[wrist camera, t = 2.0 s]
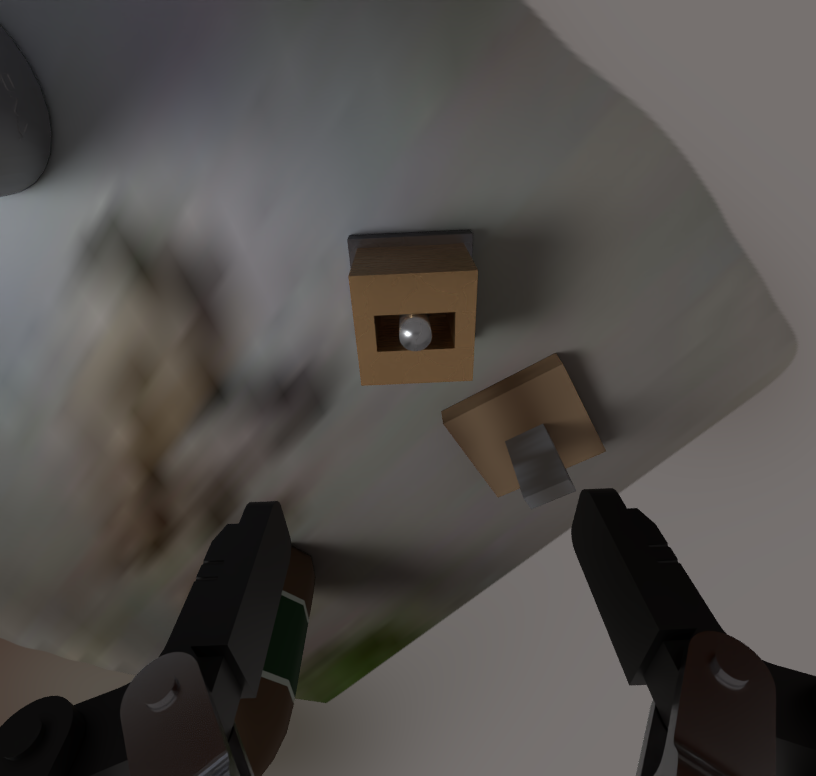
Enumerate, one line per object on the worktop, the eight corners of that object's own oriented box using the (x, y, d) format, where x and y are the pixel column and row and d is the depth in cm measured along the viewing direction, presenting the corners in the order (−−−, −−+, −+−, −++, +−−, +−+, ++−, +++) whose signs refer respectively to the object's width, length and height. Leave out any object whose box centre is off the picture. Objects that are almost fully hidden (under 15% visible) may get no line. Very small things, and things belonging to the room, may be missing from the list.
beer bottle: (306, 594, 44) (227, 1006, 23) (230, 579, 42) (74, 1009, 22) (328, 550, 40) (255, 997, 20) (245, 531, 38) (71, 999, 18)
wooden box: (494, 483, 35) (513, 557, 29) (441, 411, 31) (451, 479, 25) (598, 438, 33) (641, 508, 27) (555, 353, 29) (596, 413, 23)
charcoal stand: (361, 344, 28) (352, 398, 22) (349, 235, 24) (334, 269, 19) (466, 339, 28) (482, 393, 22) (470, 229, 24) (491, 262, 19)
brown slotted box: (367, 343, 27) (361, 385, 23) (357, 248, 24) (348, 276, 19) (460, 339, 27) (472, 380, 23) (463, 243, 24) (477, 270, 19)
